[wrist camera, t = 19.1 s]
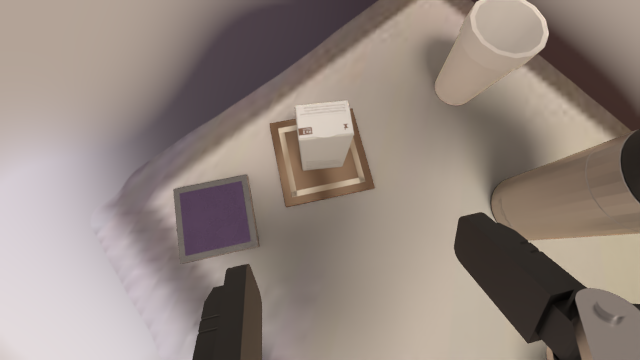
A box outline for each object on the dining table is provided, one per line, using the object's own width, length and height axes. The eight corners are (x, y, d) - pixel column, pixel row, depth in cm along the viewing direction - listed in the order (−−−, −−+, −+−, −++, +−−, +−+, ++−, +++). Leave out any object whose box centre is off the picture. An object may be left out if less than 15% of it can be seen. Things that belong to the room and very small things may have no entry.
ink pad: (248, 177, 40) (246, 174, 38) (259, 246, 37) (257, 246, 36) (177, 191, 39) (172, 189, 37) (184, 263, 36) (179, 263, 35)
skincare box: (338, 140, 41) (350, 95, 29) (343, 169, 40) (357, 133, 28) (297, 145, 41) (293, 100, 29) (301, 173, 40) (298, 139, 28)
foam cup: (420, 105, 44) (465, 46, 31) (429, 58, 46) (474, -14, 34) (478, 120, 44) (547, 66, 31) (484, 72, 46) (549, 4, 34)
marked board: (351, 110, 43) (352, 108, 43) (373, 188, 40) (374, 187, 39) (270, 125, 42) (269, 123, 41) (286, 207, 39) (285, 206, 38)
